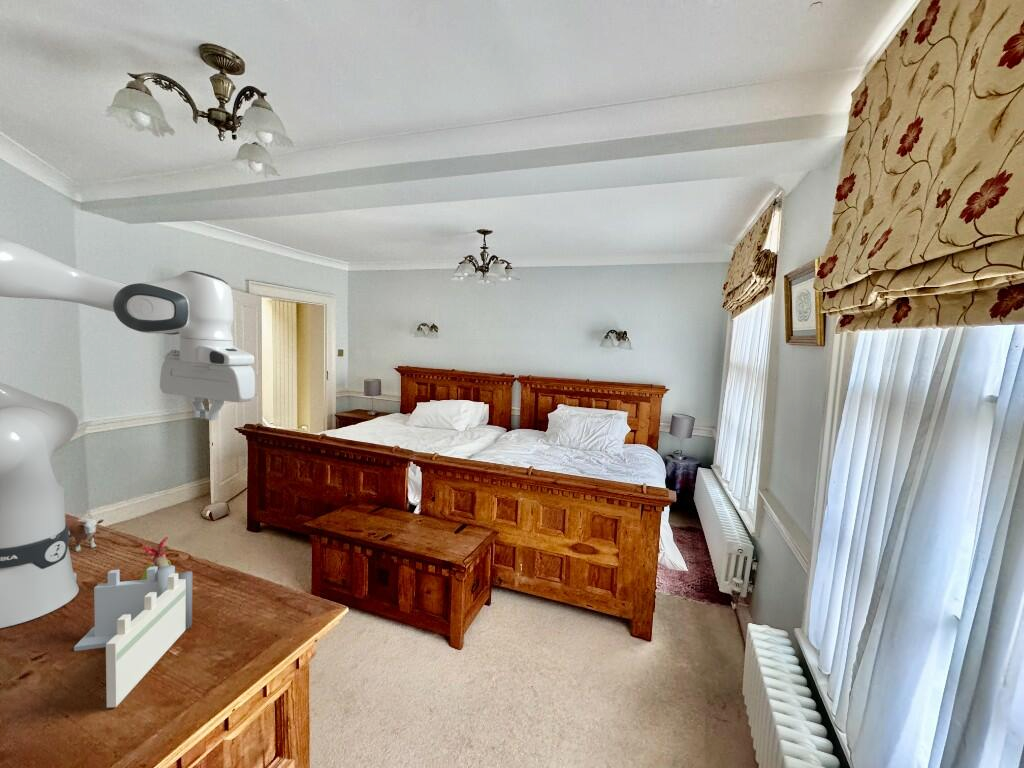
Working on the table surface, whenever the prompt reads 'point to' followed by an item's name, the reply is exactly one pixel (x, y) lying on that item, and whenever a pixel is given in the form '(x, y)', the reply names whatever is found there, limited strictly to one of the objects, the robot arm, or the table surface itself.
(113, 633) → the grey toy wall
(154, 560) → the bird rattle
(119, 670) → the fence panel
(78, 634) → the table surface
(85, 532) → the bull figurine
